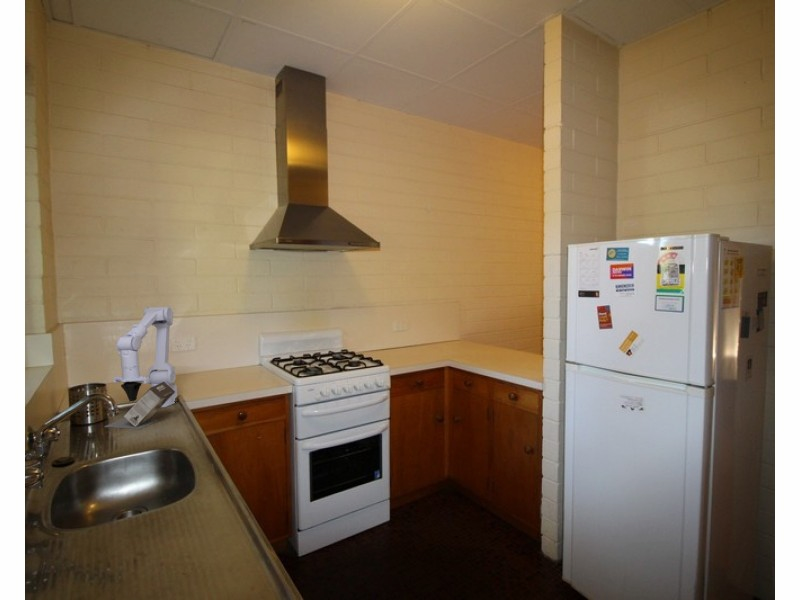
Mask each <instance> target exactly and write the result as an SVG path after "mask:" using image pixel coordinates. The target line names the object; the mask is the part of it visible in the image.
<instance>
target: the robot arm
mask: <svg viewBox="0 0 800 600" xmlns="http://www.w3.org/2000/svg"><path fill="white" fill-rule="evenodd" d="M173 323H174V312H173V309H172V308H171V306H154V307H153V306H147V307H146V308H145V309H143V317H142V318H141V320H140V321H139V323H138V324H136V323H135V324H132V327H131V328H130V329H129V330H128V332H126V334H125V335H124V336H123V335H122V336H121V337H119V338H118V339H117V341H116V345H115V347H116V350H117V352H118V355H119V356H120V365H121V376H114V377H112V379H113V380H112V382H113V383H123V384H121V385H120V386H121V388H122V389H123V390H124V391H123V392H125V394H126V396H127V398H128V402H134V401H136V400H137V397H138V394H139V391H140V388H141V387H142V385H144V384H145V385H146V384H149V385H150V386H151V387H153V386H156V385H158V384H160V383H162V382H165V383H166V384H167V385H169V386H170V387H171V388H172V389H173V390H174V391H175V393H174V394H173V395H172V396H171V397H170V398H169V399H168V400H167V401H166V402H165V403H164V404H163V405H162V406H161V408H167V407H169V406H172V405H173V404H176V403H175V402H174V401H175V398H176V397H177V396H179V395H178V386H177V384H176V383H175V381H176V376H177V375H176V369H175V366H174V365H172V364H171V363H169V354H170V353H169V349H170V329H171V326H172V325H173ZM151 326H153V327H155V329H156V336H155V337H156V340H155V358H154V360H155V361H154V364H153V365H152V366H150V367H149V369H148V374H147V377H146V376H141V375H140V364H139V363H140V362H139V350H140V348H141V347H142V346H141V344H142V342H143V339H144V337H146V335H147V333H148V328H150V327H151ZM151 387H150V388H151Z"/></svg>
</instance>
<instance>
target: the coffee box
mask: <svg viewBox="0 0 800 600" xmlns="http://www.w3.org/2000/svg"><path fill="white" fill-rule="evenodd" d="M174 393H175V391H174V390H173V389H172V388H171V387H170V386H169V385H167V384H166V383H165V382H162V383H160V384H158V385H156V386H153V387H150V388H148V390H147V391H146V392H145V393H144V394H143V395H142V396H141V398H140V399H139V400H137V402H135V404H134V405H132V407H131V408H130V409H128V411H127V412H126V413H125V414H124V415H123V418H126V419H127V420H128V421H129V422H130V423H131V424H133V425H134V426H135V427H137V426H138V425H140V424H142V423H143V422H145V421H147V420H149V419H151V418H152V417H153V416H154V415H155V414H156V413H157V412H158V411H159V410H160V409H161V408H162V407H161V406H162V405H163V404H164V403H165V402H166V401H167V400H168V399H169V398H170V397H171V396H172V395H173V394H174Z"/></svg>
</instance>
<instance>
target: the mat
mask: <svg viewBox="0 0 800 600" xmlns="http://www.w3.org/2000/svg"><path fill="white" fill-rule="evenodd" d="M157 421H159V419H151V418H150V419H149V420H147V421H145V422H143V423H142V424H140V425H138V426H137V427H135V426H134V425H133V424H131V423H130V422H129V421H128V420H127V419H126V418H125V417H123V418H120V419H117V420H116V421H113V422H112V423H109V424H107V425H105V426H104V428H112V429H113V428H116V429H133V430H141V429H144V428H146V427H148V426H149V425H151V424H153V423H156V422H157Z"/></svg>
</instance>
